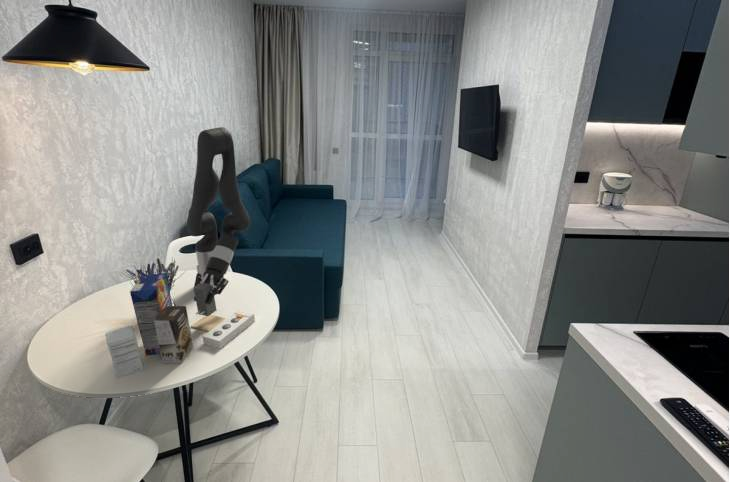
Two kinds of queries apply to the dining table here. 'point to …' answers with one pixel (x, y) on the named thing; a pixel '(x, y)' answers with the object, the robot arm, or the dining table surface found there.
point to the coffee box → (174, 334)
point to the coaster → (208, 323)
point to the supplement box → (124, 351)
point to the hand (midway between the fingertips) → (201, 302)
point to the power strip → (228, 329)
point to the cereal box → (150, 307)
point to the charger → (204, 299)
